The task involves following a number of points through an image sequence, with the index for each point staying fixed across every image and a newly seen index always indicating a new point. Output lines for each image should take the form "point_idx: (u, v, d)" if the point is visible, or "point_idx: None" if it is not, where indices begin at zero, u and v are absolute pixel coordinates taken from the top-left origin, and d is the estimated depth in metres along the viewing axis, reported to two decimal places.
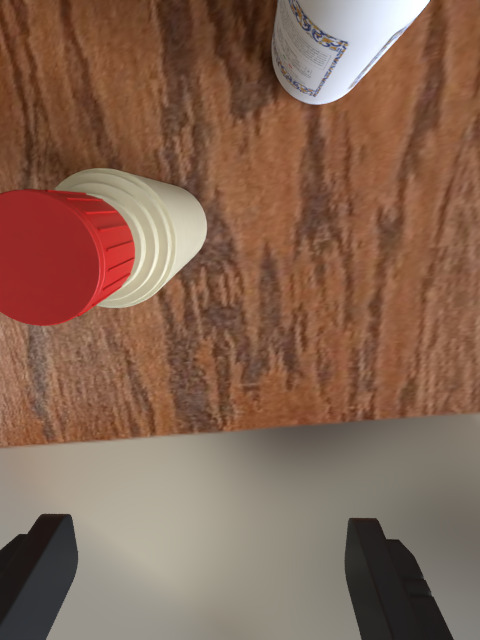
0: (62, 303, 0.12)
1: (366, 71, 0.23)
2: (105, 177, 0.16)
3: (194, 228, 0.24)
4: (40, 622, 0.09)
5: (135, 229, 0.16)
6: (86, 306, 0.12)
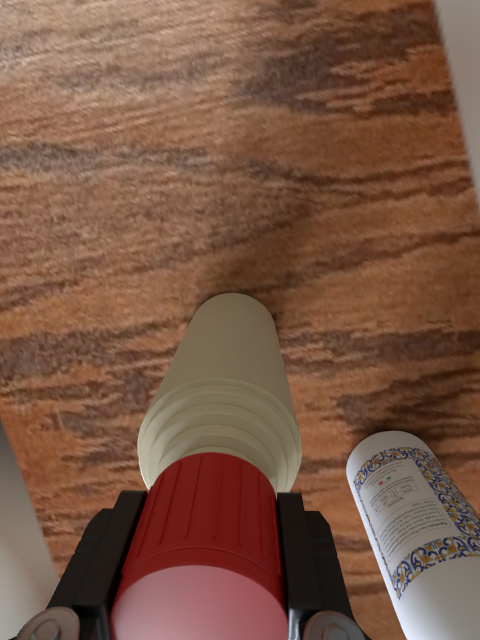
0: None
1: None
2: (292, 471, 0.14)
3: None
4: None
5: None
6: None
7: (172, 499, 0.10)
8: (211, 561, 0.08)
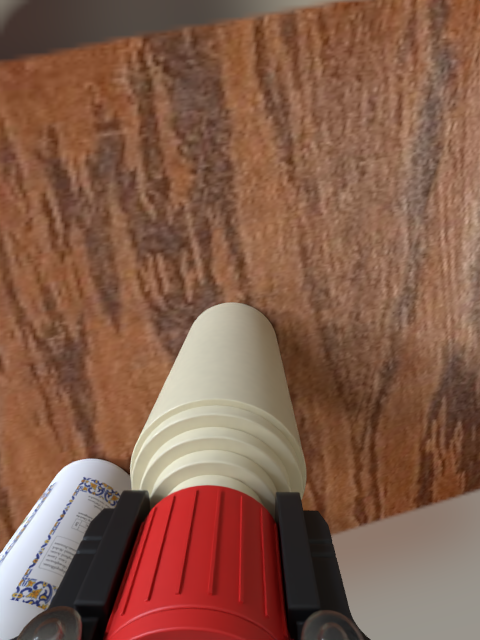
0: None
1: (28, 516, 0.25)
2: None
3: None
4: None
5: None
6: None
7: (164, 543, 0.09)
8: (207, 625, 0.07)
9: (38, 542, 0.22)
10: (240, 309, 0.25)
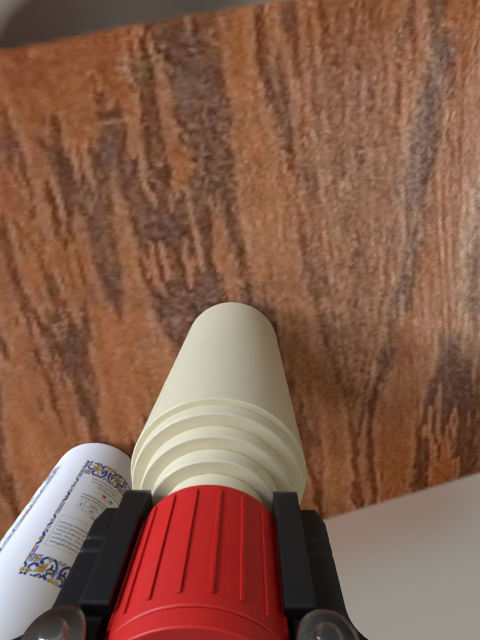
0: None
1: (34, 497, 0.26)
2: None
3: None
4: None
5: None
6: None
7: (165, 542, 0.09)
8: (208, 624, 0.07)
9: (44, 520, 0.23)
10: (240, 309, 0.25)
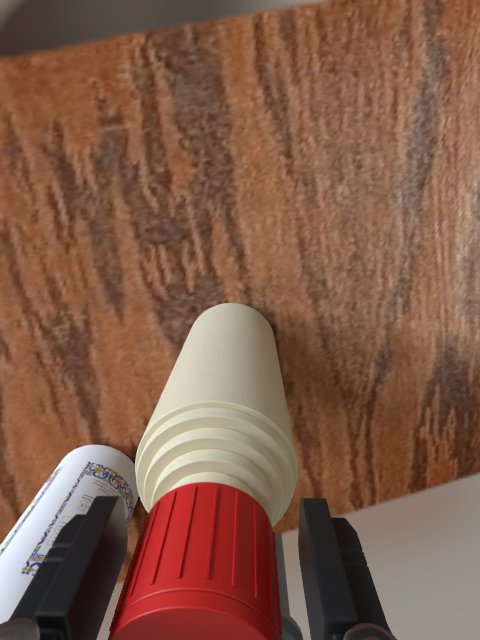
0: None
1: (36, 498, 0.26)
2: None
3: None
4: (102, 594, 0.10)
5: None
6: None
7: (166, 534, 0.10)
8: (203, 605, 0.08)
9: (46, 521, 0.23)
10: (239, 310, 0.26)
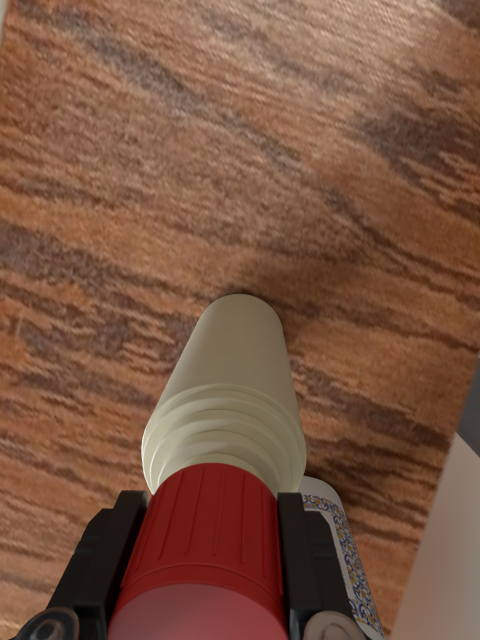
0: None
1: None
2: None
3: None
4: None
5: None
6: None
7: None
8: None
9: None
10: (202, 315, 0.26)
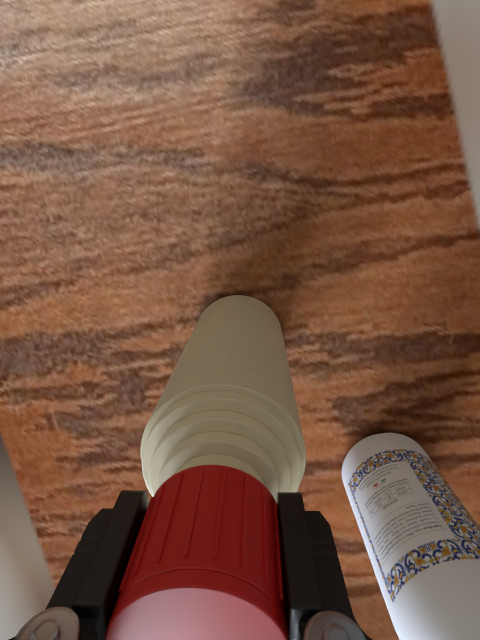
0: (256, 634, 0.08)
1: None
2: (296, 480, 0.14)
3: None
4: None
5: None
6: (261, 606, 0.08)
7: None
8: None
9: (371, 552, 0.23)
10: None
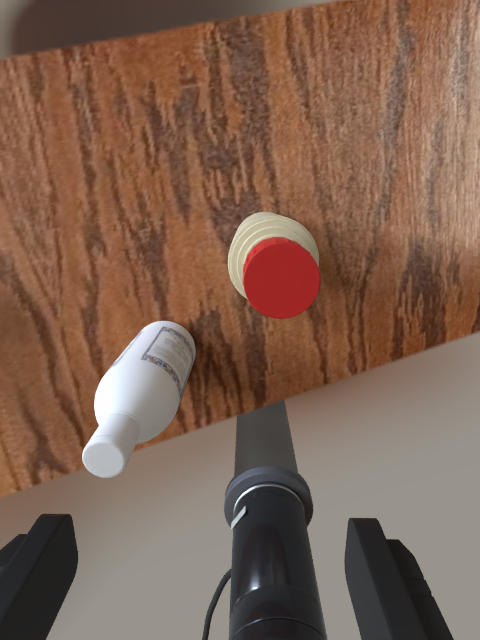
0: (307, 267, 0.20)
1: (132, 342, 0.38)
2: None
3: None
4: (40, 623, 0.09)
5: None
6: (309, 254, 0.20)
7: None
8: (274, 317, 0.21)
9: (146, 345, 0.35)
10: None
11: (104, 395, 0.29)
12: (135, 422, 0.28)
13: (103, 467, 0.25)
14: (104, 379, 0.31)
